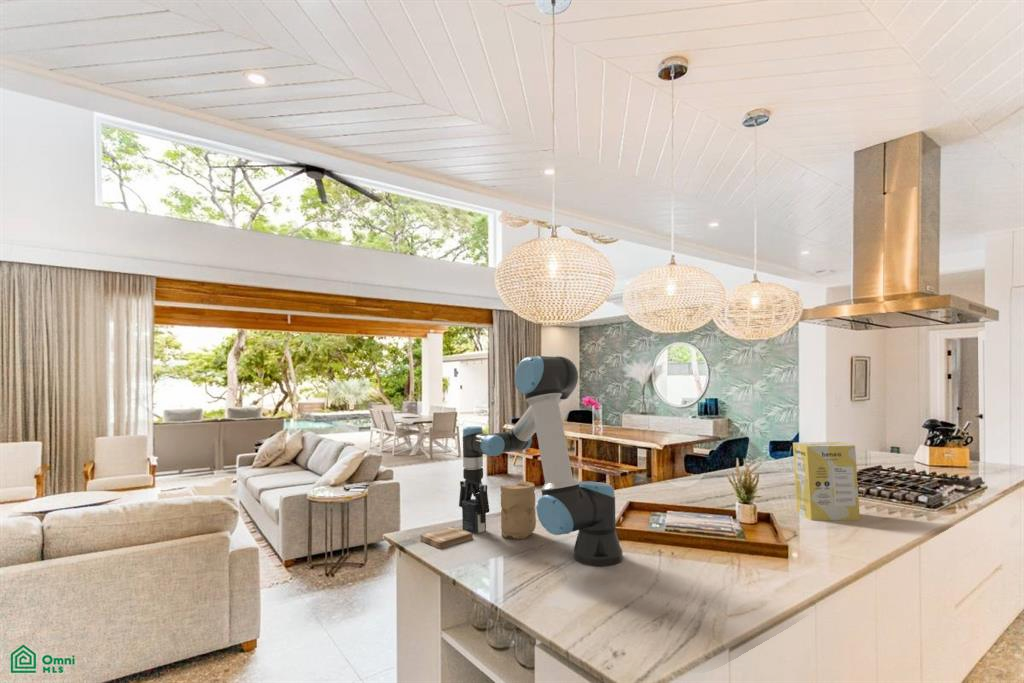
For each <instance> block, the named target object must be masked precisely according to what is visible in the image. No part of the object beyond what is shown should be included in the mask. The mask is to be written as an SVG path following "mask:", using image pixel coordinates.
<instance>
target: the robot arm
mask: <svg viewBox="0 0 1024 683" xmlns="http://www.w3.org/2000/svg"><path fill="white" fill-rule="evenodd" d="M578 381H579V371H578V369H577V366H576V365H575V363H574V362H573V361H572V360H570V359H569V358H567V357H564V356H543V355H542V356H541V355H534V356H527V357H524V358H523V359H522V360H520V362H519V363H518V364H517V367H516V369H515V372H514V385H515V387H516V389H517V390H518V392H519V393H521V394H524V398H525V401H526V403H528V404H529V407H527V409H526V411H525V412H524V413H523V414H522V416H521V417H520V418H519V420H518V421H517V422H516V423H515V425H514V426H513V428H512V429H511V430H510V431H505V432H494V433H484V431H483V428H482V426H475V425H474V426H465V427H464V428H463V430H462V467H463V469H462V473H463V474H462V475H463V476H462V478H463V479H464V480H462V481H461V480H460V481H459V484H460V485H459V486H460V489H459V501H458V507H460V508H462V501H467V500H471V499H472V496H473V497H474V499H476V503H477V505H478V510H479V513H478V534H479V533H483V532H486V531H485V514H486V515H487V513H488V514H489V513H490V506H489V504H490V503H489V496H488V495H489V494H488V485H487V484H483V481H482V479H483V478H484V468H483V467H484V456H489V457H497V456H500V455H501V454H505V453H514V452H522V451H525V450H528V449H530V447H531V446H532V445H531V444H532V443H533V441H532V440H533V439H532V437H533V436H534V435H535V434H536V437H537V444H538V450H539V456H540V462H541V467H542V472H543V478H544V485H543V486H542V487H541V489H540V490H541V495H542V496H541V497H540V498H539V499H538V500H537V503H536V515H537V518H538V521H539V522H540V524H541V526H542V527H543V529H545V531H547V532H548V533H549V534H552V535H554V536H561V535H569V534H571V533H572V532H575V531H578V532H577V537H576V539H575V540H576V541H575V544H574V547H573V558H574V560H575V561H577V562H579V563H581V564H584V565H588V566H594V567H596V566H597V567H606V566H607V567H608V566H614V565H617V564H619V563H620V562H622V561H623V557H624V556H623V549H622V547H621V544H620V540H619V537H618V534H617V527H616V525H617V524H616V496H615V488H614V486H613V485H611V484H609V483H605V482H601V481H599V482H597V481H592V480H590V481H587V480H585V481H583V480H581V481H577V480H576V479H574V477H573V472H572V466H571V462H570V456H569V450H568V446H567V441H566V440H567V439H566V435H565V430H564V424H563V419H562V414H561V409H560V404H561V402H562V400H563V401H565V400H567V399H569V397H570V396H571V395H572V394H573V392H574V391H575V389H576V387H577V384H578Z"/></svg>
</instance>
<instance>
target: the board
mask: <svg viewBox="0 0 1024 683" xmlns="http://www.w3.org/2000/svg"><path fill="white" fill-rule="evenodd" d="M473 535H474V533H472V532H469V531H467V530H464V529H463V528H458V527H455V526H447V527H445V528H440V529H437V530H434V531H430V532H426V533H422V534H420V542H423V543H425V544H427V545H430V546H432V547H434V548H436V549H437V548H438V549H439V550H441V549H444V548H448V547H452V546H454V545H459V544H461V543H464V542H467V541H471V540H473V539H474V536H473Z"/></svg>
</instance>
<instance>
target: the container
mask: <svg viewBox="0 0 1024 683" xmlns="http://www.w3.org/2000/svg"><path fill="white" fill-rule="evenodd" d="M535 491H536V484H535V483H533V482H529V481H518V482H517V483H515V484H512V485H510V484H506V485H502V484H501V485H500V492H501V493H500V507H501V510H500V523H501V524H500V528H501V529H500V530H501V531H500V532H501V533H500V534H501V535H502V537H503V538H505V539H506V538H509V537H510V538H511V537H513V539H521V540H522V539H523V540H524V539H526V538H527V537H528V536H530V535H531V534H532V533H533V532H534V531H535V529H536V526H537V520H536V518H537V517H536V515H537V511H536V508H535V506H536V492H535Z"/></svg>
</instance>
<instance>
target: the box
mask: <svg viewBox="0 0 1024 683" xmlns="http://www.w3.org/2000/svg"><path fill="white" fill-rule="evenodd" d="M461 509H462V510H461V511H462V512H461V513H462V515H461V516H462V520H461V521H462V523H461V524H462V530H465V531H468V532H470V533H473V534H477V533H478V534H479V532H478V513H479V510H478V505H477V503H476V499H475V498H471V500H467V501H462V507H461ZM486 516H487V513H486V514H485V531H484V532H486V531H487V523H486V522H487V519H486V518H487V517H486Z"/></svg>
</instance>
